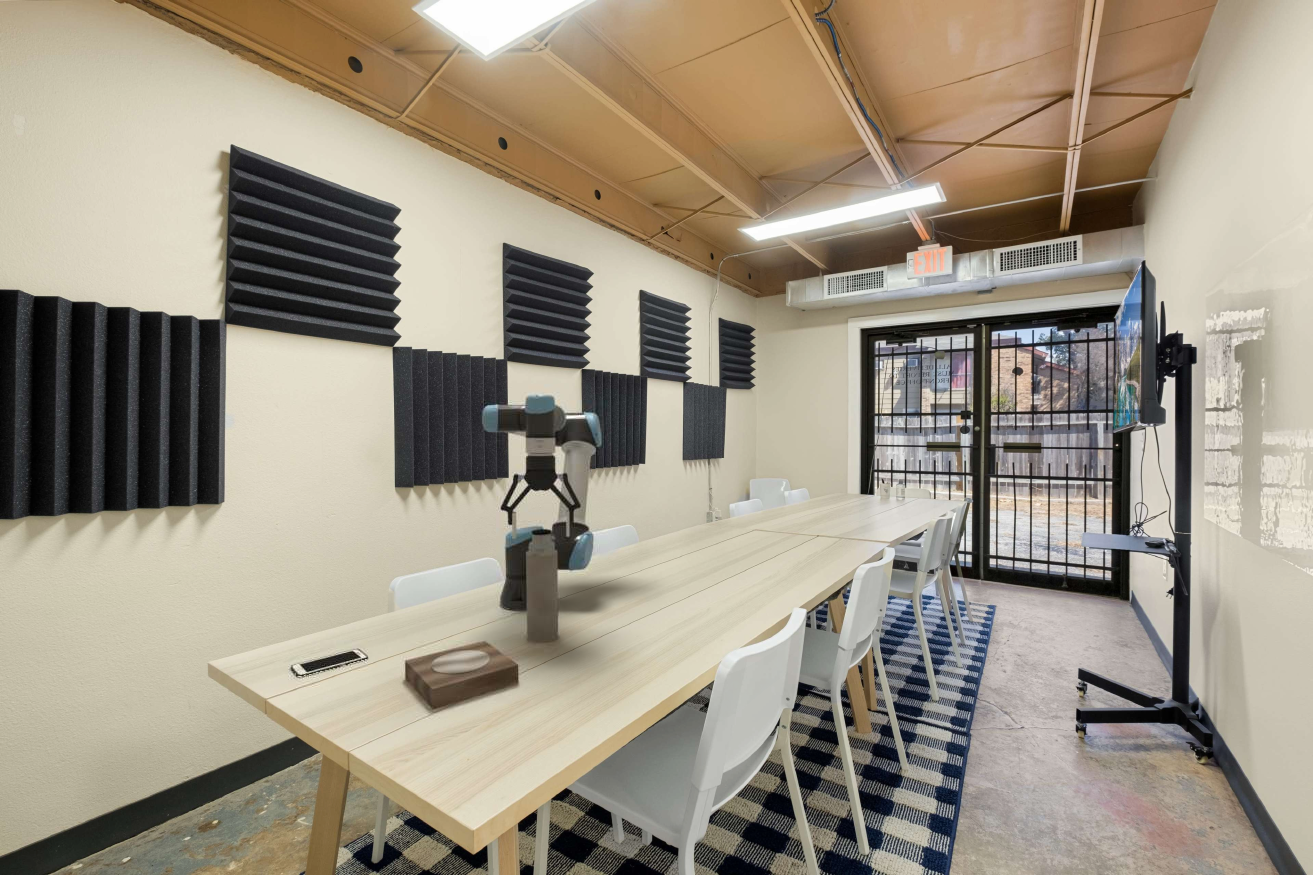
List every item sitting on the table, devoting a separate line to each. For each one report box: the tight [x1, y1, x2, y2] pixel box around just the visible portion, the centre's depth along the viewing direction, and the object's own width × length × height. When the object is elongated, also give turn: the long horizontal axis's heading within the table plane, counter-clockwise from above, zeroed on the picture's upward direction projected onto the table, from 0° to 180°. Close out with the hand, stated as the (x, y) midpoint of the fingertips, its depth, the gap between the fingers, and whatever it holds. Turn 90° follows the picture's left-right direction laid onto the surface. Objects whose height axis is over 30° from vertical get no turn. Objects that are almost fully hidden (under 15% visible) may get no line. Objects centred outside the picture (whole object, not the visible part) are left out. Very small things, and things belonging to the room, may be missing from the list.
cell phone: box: [290, 648, 369, 676], centre depth 135 cm, size 8×15×1 cm, turn 135°
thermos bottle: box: [526, 528, 559, 644], centre depth 151 cm, size 8×8×28 cm
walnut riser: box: [404, 640, 519, 710], centre depth 125 cm, size 18×18×4 cm
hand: (541, 536), depth 150 cm, fingers open, 13 cm apart
